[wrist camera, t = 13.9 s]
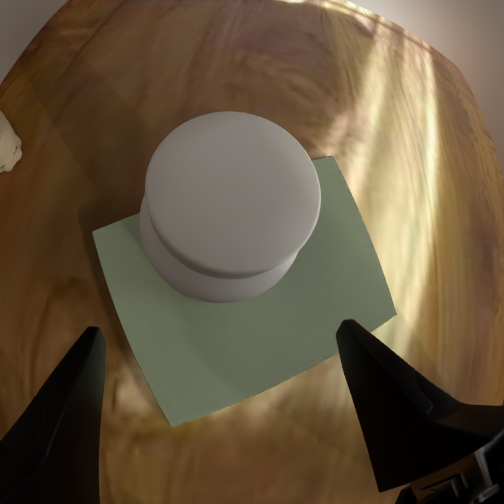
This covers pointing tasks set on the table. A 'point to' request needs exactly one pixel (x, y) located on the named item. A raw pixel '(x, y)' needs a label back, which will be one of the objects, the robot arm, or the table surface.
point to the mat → (246, 311)
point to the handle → (8, 145)
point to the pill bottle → (227, 206)
